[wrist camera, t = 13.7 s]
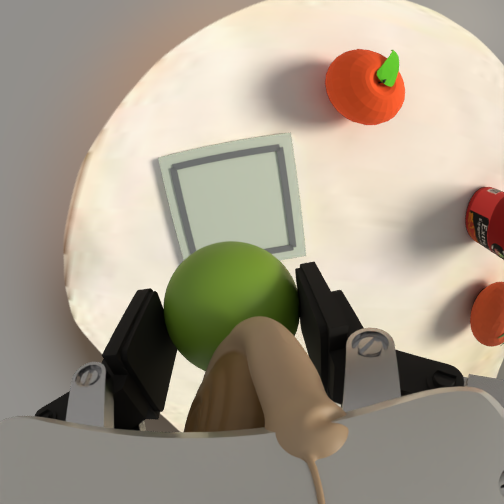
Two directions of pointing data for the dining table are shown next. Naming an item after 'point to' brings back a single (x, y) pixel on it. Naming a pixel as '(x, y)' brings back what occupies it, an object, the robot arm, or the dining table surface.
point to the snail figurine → (250, 351)
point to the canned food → (487, 219)
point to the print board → (236, 195)
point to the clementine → (365, 86)
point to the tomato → (489, 315)
